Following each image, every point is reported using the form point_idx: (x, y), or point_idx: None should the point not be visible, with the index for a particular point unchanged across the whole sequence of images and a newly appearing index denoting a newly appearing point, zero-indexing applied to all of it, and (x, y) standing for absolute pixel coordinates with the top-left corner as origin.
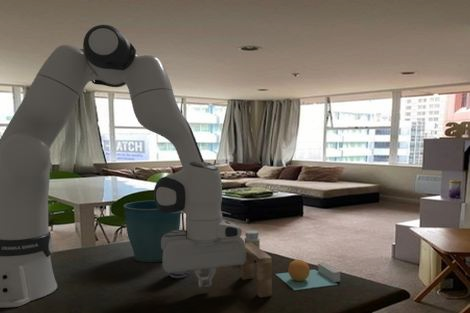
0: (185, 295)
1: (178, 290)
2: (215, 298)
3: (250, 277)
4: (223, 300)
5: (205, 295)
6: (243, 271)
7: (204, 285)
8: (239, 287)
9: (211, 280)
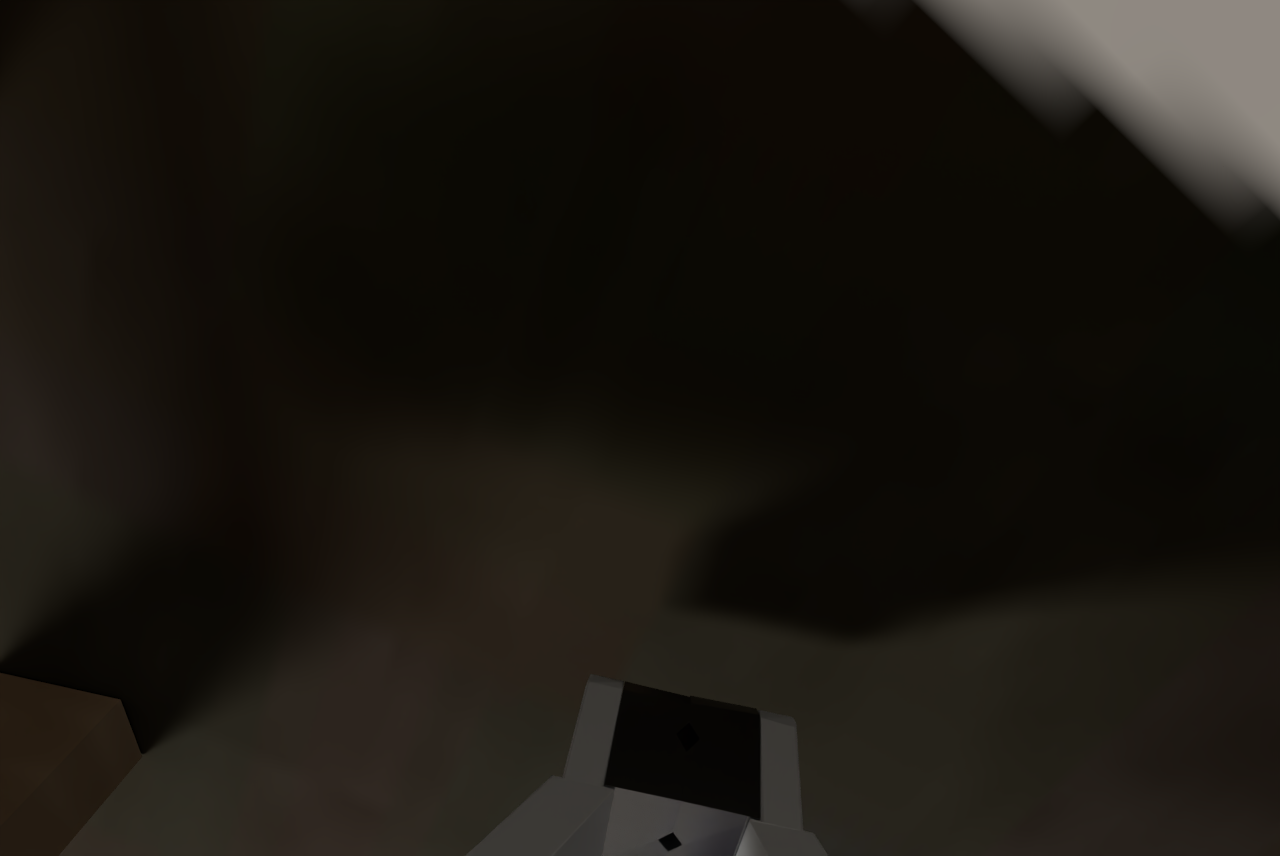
0: (997, 679)
1: (979, 822)
2: (639, 387)
3: (18, 692)
4: (542, 246)
5: (735, 552)
6: (25, 792)
7: (713, 709)
8: (192, 546)
9: (572, 747)
